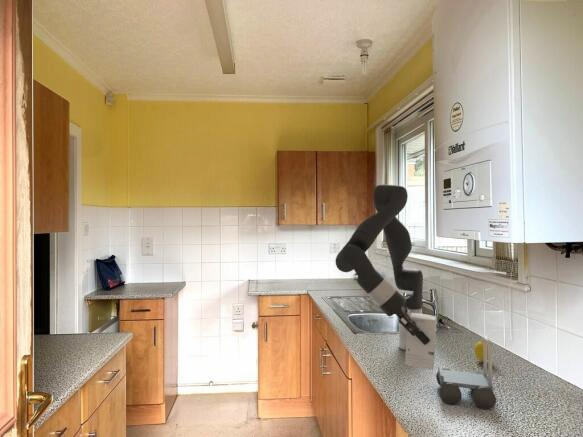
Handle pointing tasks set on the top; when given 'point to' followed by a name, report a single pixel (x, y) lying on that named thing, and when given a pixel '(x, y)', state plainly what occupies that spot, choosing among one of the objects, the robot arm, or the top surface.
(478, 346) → the lemon
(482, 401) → the trolley
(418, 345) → the skincare box
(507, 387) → the top surface
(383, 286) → the robot arm
